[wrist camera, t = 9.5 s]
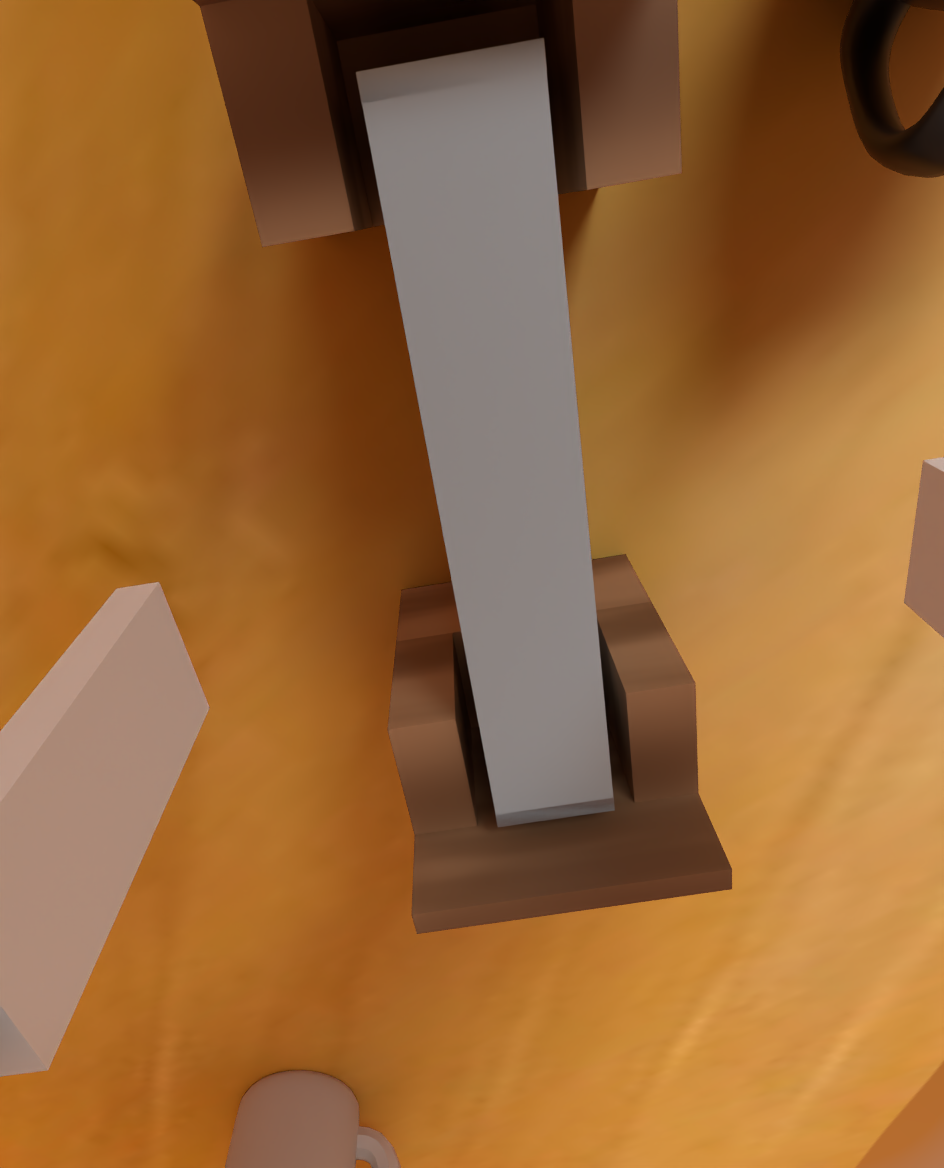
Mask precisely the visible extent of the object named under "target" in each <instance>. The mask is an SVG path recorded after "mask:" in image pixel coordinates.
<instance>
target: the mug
mask: <svg viewBox="0 0 944 1168" xmlns="http://www.w3.org/2000/svg"><path fill="white" fill-rule="evenodd" d="M910 5H911V6H915V7H920V8H926V9H933V10H943V11H944V0H854V1H853V3H852V5H851V8H850V10H849V12H848V15H847V18H846V20H845V23H844V27H843V30H842V35H841V42H840V60H841V68H842V73H843V78H844V83H845V88H846V92H847V96H848V100H849V104H850V108H851V112H852V116H853V120H854V123H855V126H856V129H857V132H858V134H859V137H860V139H861V140H862V142H863V144H864V146H865V148H866V150H867V152H868V153H869V155H870V156H871V157H873V158H874V159H875V160H877V161H878V162H879V163H880V164H882V165H883V166H884V167H886V168H889V169H891V170H893V171H896V172H898V173H901V174H903V175H908V176H918V177H927V178H930V177H938V176H942V175H944V88H943V89H942V91H941V92H940V94H939V95H938V97H937V98H936V100H935V101H934V103H933V104H932V105H931V107H930V108H929V109H928V111H927V112H926V113H925V115H924V116H923V117H922V118H921V119H920V120H919V121H918V122H917V123H916V124H915V125H913V126H912V127H910V128H908V129H906V130H905V129H904V127H903V126H902V124H901V122H900V119H899V116H898V114H897V111H896V107H895V104H894V101H893V97H892V93H891V88H890V81H889V58H890V52H891V48H892V44H893V41H894V38H895V35H896V33H897V30H898V28H899V26H900V24H901V22H902V20H903V18H904V16H905V14H906V13H907V11H908V9H909V8H910Z"/></svg>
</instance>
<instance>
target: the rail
mask: <svg viewBox="0 0 944 1168" xmlns="http://www.w3.org/2000/svg"><path fill="white" fill-rule="evenodd" d="M356 77H357V82H358V88H359V93H360V98H361V104H362V106H363V111H364V117H365V122H366V127H367V133H368V138H369V143H370V149H371V154H372V159H373V164H374V170H375V175H376V180H377V186H378V191H379V196H380V202H381V207H382V212H383V218H384V223H385V228H386V234H387V239H388V244H389V250H390V255H391V260H392V266H393V271H394V276H395V281H396V287H397V292H398V297H399V303H400V308H401V313H402V319H403V324H404V329H405V335H406V340H407V345H408V351H409V356H410V361H411V367H412V372H413V377H414V383H415V388H416V393H417V398H418V404H419V409H420V414H421V420H422V425H423V430H424V436H425V441H426V446H427V452H428V457H429V462H430V468H431V473H432V478H433V484H434V489H435V494H436V500H437V505H438V510H439V515H440V521H441V526H442V531H443V537H444V542H445V547H446V553H447V558H448V563H449V569H450V574H451V579H452V585H453V590H454V595H455V601H456V606H457V611H458V617H459V622H460V627H461V632H462V638H463V643H464V648H465V654H466V659H467V664H468V670H469V675H470V680H471V686H472V691H473V696H474V702H475V707H476V712H477V718H478V723H479V728H480V734H481V739H482V744H483V749H484V755H485V760H486V765H487V771H488V776H489V781H490V787H491V792H492V797H493V803H494V808H495V815H496V820H497V826H498V827H504V826H511V825H518V824H524V823H531V822H538V821H545V820H552V819H559V818H566V817H573V816H579V815H586V814H593V813H600V812H607V811H614V810H615V806H614V797H613V788H612V777H611V766H610V755H609V744H608V734H607V723H606V712H605V701H604V690H603V679H602V669H601V658H600V647H599V636H598V625H597V614H596V603H595V593H594V582H593V571H592V560H591V549H590V538H589V527H588V517H587V506H586V495H585V484H584V473H583V462H582V451H581V441H580V430H579V419H578V408H577V397H576V386H575V375H574V365H573V354H572V343H571V332H570V321H569V310H568V299H567V289H566V278H565V267H564V256H563V245H562V234H561V223H560V213H559V202H558V191H557V180H556V169H555V158H554V147H553V137H552V126H551V115H550V104H549V93H548V82H547V66H546V55H545V44H544V38H540V39H535V40H529V41H524V42H518V43H513V44H507V45H502V46H496V47H491V48H485V49H480V50H474V51H469V52H463V53H458V54H452V55H447V56H441V57H436V58H430V59H425V60H419V61H414V62H408V63H403V64H397V65H392V66H386V67H381V68H375V69H370V70H364V71H359V72H356Z"/></svg>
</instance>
